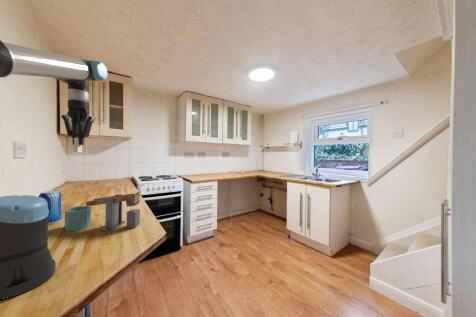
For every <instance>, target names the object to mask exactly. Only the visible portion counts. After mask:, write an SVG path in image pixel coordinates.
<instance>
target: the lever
mask: <svg viewBox="0 0 476 317" xmlns="http://www.w3.org/2000/svg"><path fill="white" fill-rule="evenodd" d="M106 198H114V203H115V202H122V203H123V202H125V203H126V208H128V207H134V206H137V205H139V204H140V198H141V193H140V191H137V192H134V193H126V194H122V195H119V196H115V195H111V196H110V195H109V196H104V197H98V198H93V200H88V201H85V206H90V207H92V206H98V205H106Z"/></svg>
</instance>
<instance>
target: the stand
mask: <svg viewBox="0 0 476 317" xmlns="http://www.w3.org/2000/svg"><path fill="white" fill-rule="evenodd" d="M119 195H123V194H119V193H118V194H115V195H114V196H119ZM125 223H126V221H125V220H123V201H122V202H115V203H114V198H106V204H105V223H104V224H105V227H103V228H102V229H101V232H114V231H115V230H116V229H118V228H119V227H121V226H122V225H123V224H125Z"/></svg>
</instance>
